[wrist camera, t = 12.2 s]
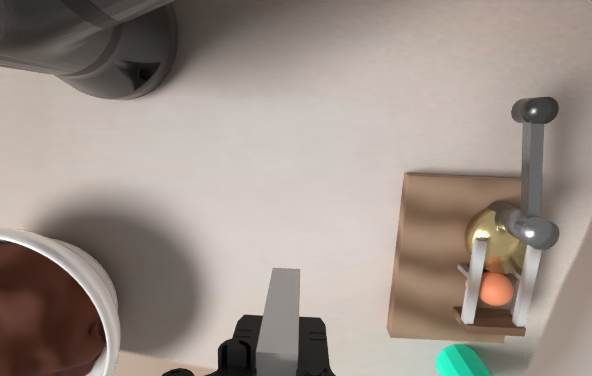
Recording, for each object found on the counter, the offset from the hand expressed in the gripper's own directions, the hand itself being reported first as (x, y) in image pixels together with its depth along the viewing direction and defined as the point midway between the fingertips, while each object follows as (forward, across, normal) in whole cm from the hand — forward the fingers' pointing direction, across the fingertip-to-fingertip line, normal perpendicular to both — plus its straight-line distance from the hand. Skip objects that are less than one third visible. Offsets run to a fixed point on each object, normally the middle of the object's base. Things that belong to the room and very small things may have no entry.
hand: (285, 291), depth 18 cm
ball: (+22, +24, -10) cm, 35 cm away
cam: (+22, +25, +2) cm, 33 cm away
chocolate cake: (+25, -32, -16) cm, 43 cm away
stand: (+24, +21, -8) cm, 33 cm away
